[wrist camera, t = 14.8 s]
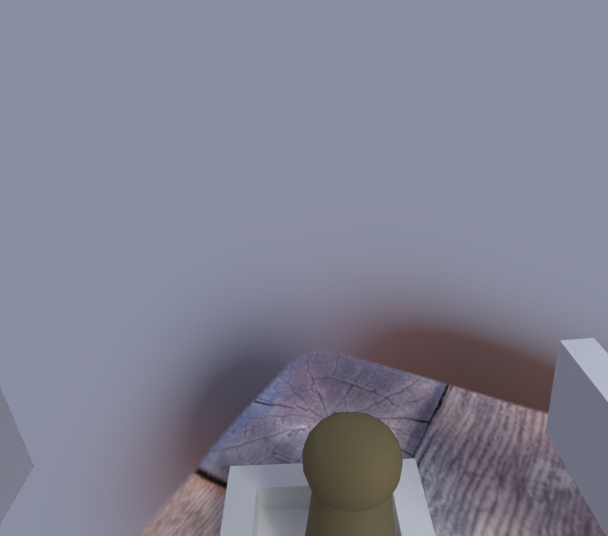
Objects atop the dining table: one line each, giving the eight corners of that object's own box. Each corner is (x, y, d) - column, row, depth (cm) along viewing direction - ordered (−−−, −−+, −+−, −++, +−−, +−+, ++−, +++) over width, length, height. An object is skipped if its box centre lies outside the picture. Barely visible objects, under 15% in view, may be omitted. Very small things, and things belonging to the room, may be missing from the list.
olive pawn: (308, 635, 29) (303, 490, 24) (292, 537, 34) (286, 402, 29) (415, 615, 29) (431, 471, 25) (383, 522, 35) (391, 389, 30)
